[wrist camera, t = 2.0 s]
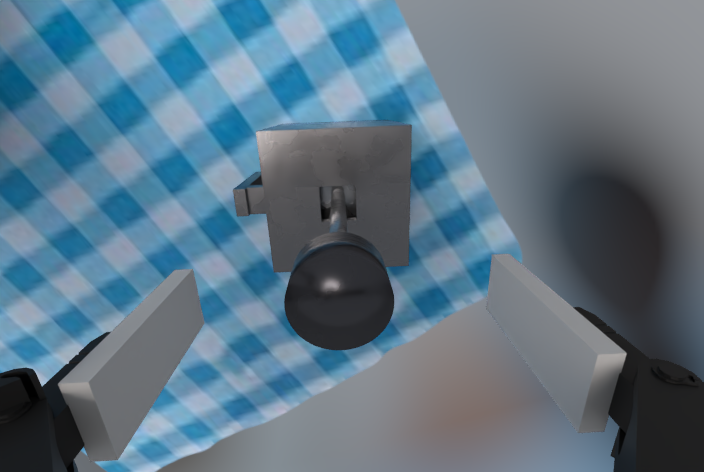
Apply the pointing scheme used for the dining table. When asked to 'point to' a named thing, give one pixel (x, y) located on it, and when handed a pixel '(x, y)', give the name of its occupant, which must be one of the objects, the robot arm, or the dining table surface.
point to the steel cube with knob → (331, 184)
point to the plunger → (339, 282)
